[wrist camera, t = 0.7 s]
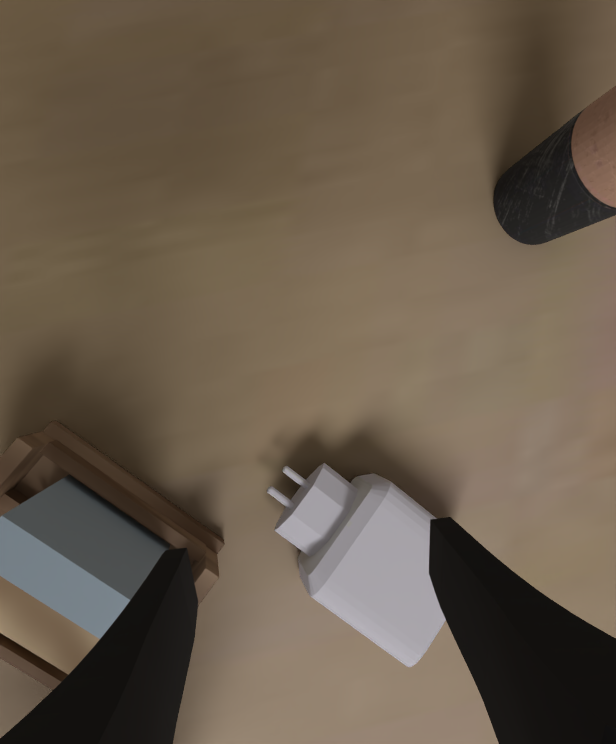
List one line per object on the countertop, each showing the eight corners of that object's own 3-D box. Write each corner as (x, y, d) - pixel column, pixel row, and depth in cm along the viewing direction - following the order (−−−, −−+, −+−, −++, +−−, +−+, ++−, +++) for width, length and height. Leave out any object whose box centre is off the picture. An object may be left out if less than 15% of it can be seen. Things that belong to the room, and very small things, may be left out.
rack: (109, 692, 30) (91, 750, 25) (-80, 576, 28) (-139, 614, 23) (223, 539, 32) (227, 566, 27) (55, 420, 30) (27, 425, 25)
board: (150, 569, 30) (125, 655, 20) (47, 500, 29) (-33, 555, 19) (170, 544, 30) (154, 616, 21) (69, 474, 29) (2, 515, 19)
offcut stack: (77, 664, 29) (69, 682, 27) (-33, 595, 27) (-49, 609, 26) (109, 622, 29) (103, 637, 27) (2, 553, 28) (-11, 564, 26)
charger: (308, 422, 34) (450, 536, 36) (231, 524, 32) (384, 636, 35) (325, 426, 29) (486, 556, 32) (235, 545, 28) (412, 674, 30)
